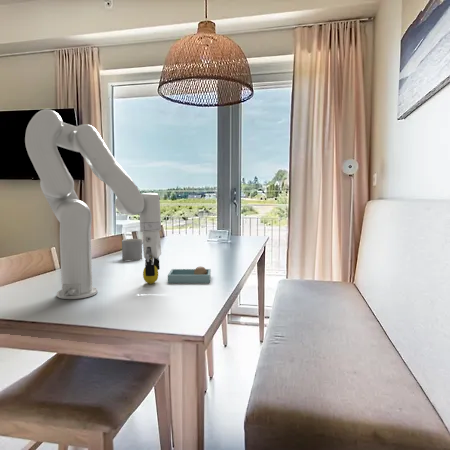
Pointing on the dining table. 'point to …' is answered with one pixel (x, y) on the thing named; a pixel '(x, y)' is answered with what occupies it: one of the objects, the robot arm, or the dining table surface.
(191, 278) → the trough
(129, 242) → the coffee mug
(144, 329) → the dining table surface
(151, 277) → the lemon
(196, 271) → the walnut ball
